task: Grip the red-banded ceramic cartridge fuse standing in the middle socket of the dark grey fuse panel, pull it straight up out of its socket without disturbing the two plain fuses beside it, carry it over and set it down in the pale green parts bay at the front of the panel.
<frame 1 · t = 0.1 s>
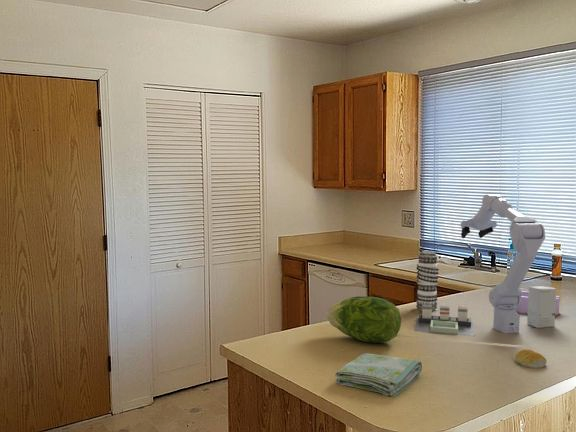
hand: (471, 236, 229), 32 cm above the worktop, tool tilted 50°, fingers open, 7 cm apart
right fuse: (462, 324, 209), point 1 cm above the worktop, touching panel
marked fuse: (444, 322, 211), point 1 cm above the worktop, touching panel
clip: (532, 311, 234), on the worktop
panel: (444, 326, 209), on the worktop
lettuce: (362, 340, 191), on the worktop
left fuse: (426, 321, 213), point 1 cm above the worktop, touching panel
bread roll: (530, 364, 169), on the worktop
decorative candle: (426, 310, 233), on the worktop
towel: (378, 381, 155), on the worktop
skincare box: (540, 325, 211), on the worktop
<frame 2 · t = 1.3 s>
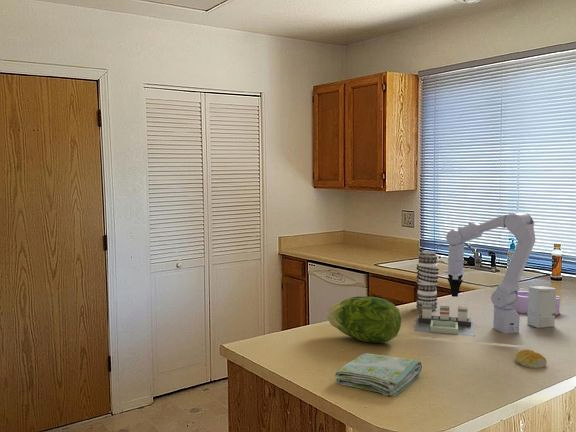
hand: (454, 294, 217), 10 cm above the worktop, tool pointing down, fingers open, 7 cm apart
nothing on the worktop moved.
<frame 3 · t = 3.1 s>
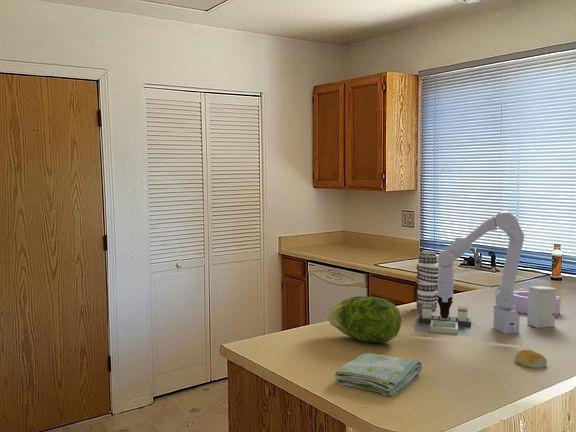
hand: (444, 316, 211), 3 cm above the worktop, tool pointing down, fingers closed on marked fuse, 3 cm apart
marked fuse: (444, 322, 211), point 1 cm above the worktop, touching gripper, panel
everything else where it was.
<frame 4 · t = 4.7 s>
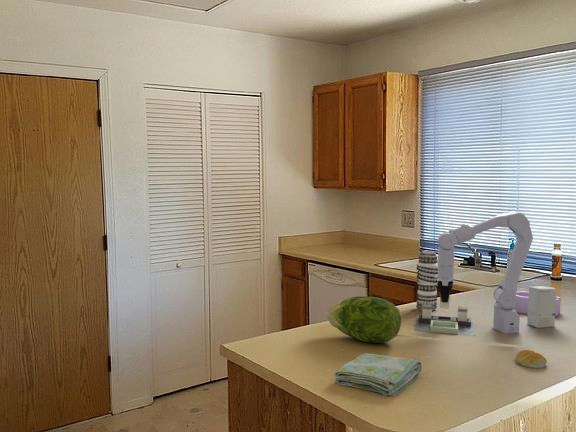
hand: (444, 301, 207), 10 cm above the worktop, tool pointing down, fingers closed on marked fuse, 3 cm apart
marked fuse: (444, 307, 207), point 8 cm above the worktop, touching gripper
everything else where it was.
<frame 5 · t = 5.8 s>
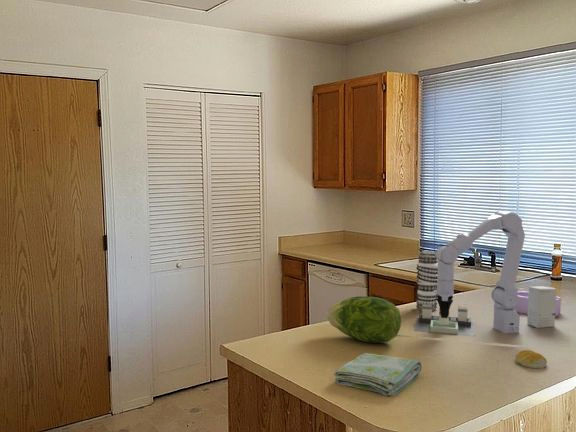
hand: (444, 316, 202), 6 cm above the worktop, tool pointing down, fingers closed on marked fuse, 3 cm apart
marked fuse: (443, 322, 202), point 3 cm above the worktop, touching gripper
everything else where it was.
when the fingers open (4 cm above the worktop, at t = 6.5 s): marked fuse stays where it is, resting on panel.
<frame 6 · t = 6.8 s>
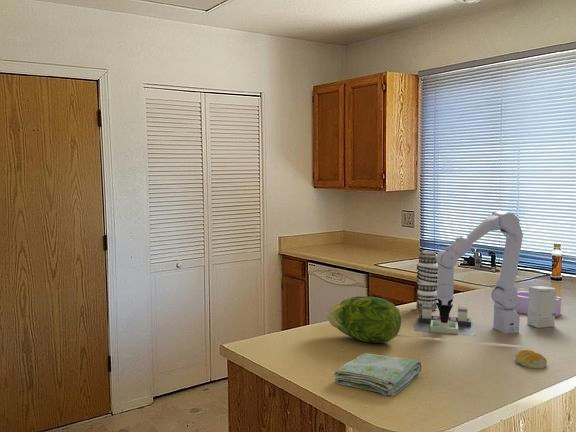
hand: (444, 320, 202), 4 cm above the worktop, tool pointing down, fingers open, 6 cm apart
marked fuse: (443, 328, 202), point 1 cm above the worktop, touching panel
everything else where it was.
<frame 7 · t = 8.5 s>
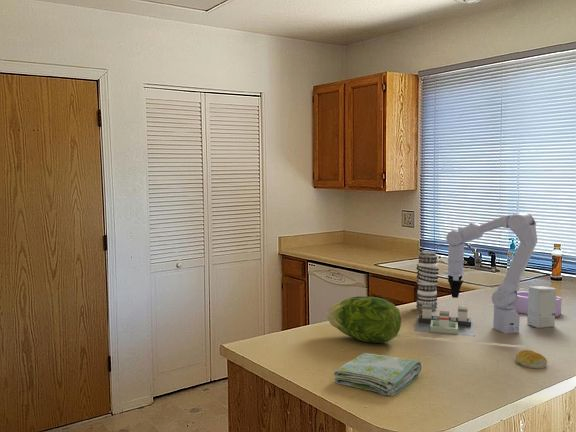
hand: (454, 295, 216), 10 cm above the worktop, tool pointing down, fingers open, 7 cm apart
nothing on the worktop moved.
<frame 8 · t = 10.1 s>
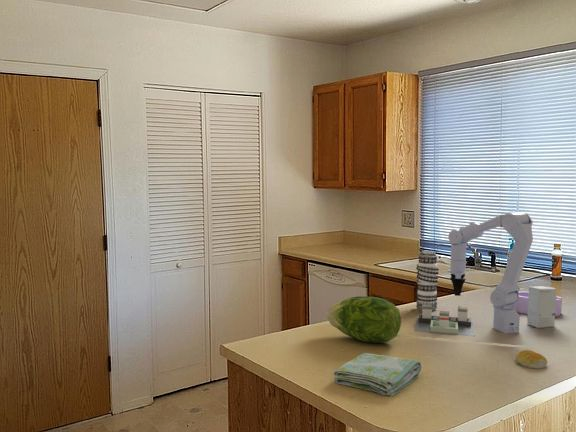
hand: (457, 293, 219), 10 cm above the worktop, tool pointing down, fingers open, 7 cm apart
at the end: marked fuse inside the target area on the panel (0.1 cm from its centre), point 0.9 cm above the panel's base; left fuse moved 0.0 cm from its start; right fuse moved 0.0 cm from its start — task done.
